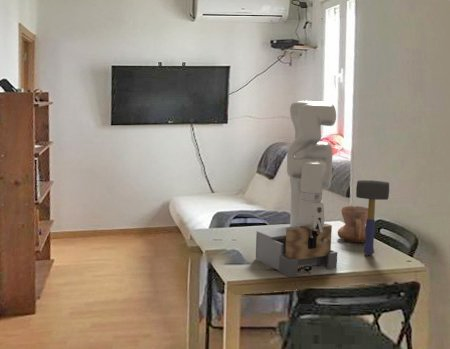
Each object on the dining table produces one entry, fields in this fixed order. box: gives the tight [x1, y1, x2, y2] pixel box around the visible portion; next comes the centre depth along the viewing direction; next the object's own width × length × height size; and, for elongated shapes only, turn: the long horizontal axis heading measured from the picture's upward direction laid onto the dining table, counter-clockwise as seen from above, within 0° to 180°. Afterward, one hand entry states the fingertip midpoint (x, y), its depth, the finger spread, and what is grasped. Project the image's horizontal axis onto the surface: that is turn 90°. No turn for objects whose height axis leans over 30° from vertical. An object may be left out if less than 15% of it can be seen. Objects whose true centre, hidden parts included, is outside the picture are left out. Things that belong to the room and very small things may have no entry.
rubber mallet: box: [355, 179, 390, 256], centre depth 221 cm, size 12×8×30 cm, turn 75°
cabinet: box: [255, 226, 338, 278], centre depth 210 cm, size 22×22×11 cm
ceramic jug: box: [337, 205, 368, 243], centre depth 244 cm, size 18×14×14 cm
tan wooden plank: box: [285, 223, 333, 260], centre depth 201 cm, size 18×4×11 cm, turn 120°
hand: (308, 246), depth 202 cm, fingers closed on tan wooden plank, 3 cm apart
